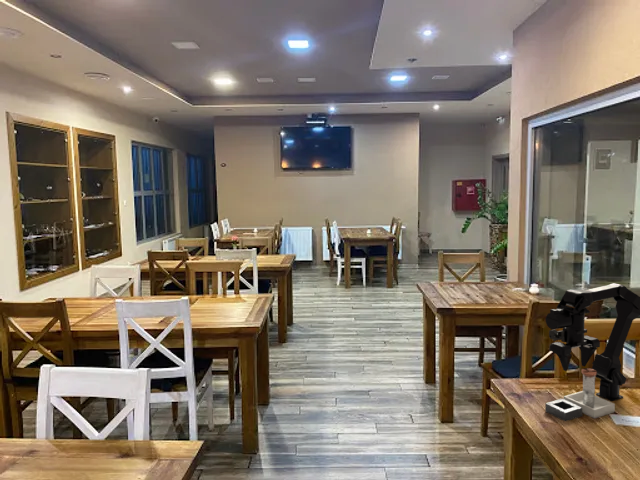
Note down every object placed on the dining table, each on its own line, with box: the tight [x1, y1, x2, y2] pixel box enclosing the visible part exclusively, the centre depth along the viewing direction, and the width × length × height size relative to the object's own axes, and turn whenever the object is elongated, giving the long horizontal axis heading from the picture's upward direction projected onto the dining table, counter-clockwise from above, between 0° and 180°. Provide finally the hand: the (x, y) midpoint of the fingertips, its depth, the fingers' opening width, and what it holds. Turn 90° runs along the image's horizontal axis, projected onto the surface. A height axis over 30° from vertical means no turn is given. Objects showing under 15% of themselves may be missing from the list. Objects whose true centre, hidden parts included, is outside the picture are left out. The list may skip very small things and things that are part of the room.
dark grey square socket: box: [544, 398, 583, 422], centre depth 163 cm, size 8×8×3 cm
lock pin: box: [581, 367, 597, 408], centre depth 166 cm, size 5×5×13 cm
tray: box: [563, 390, 616, 420], centre depth 166 cm, size 10×12×3 cm
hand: (574, 368), depth 169 cm, fingers open, 9 cm apart
